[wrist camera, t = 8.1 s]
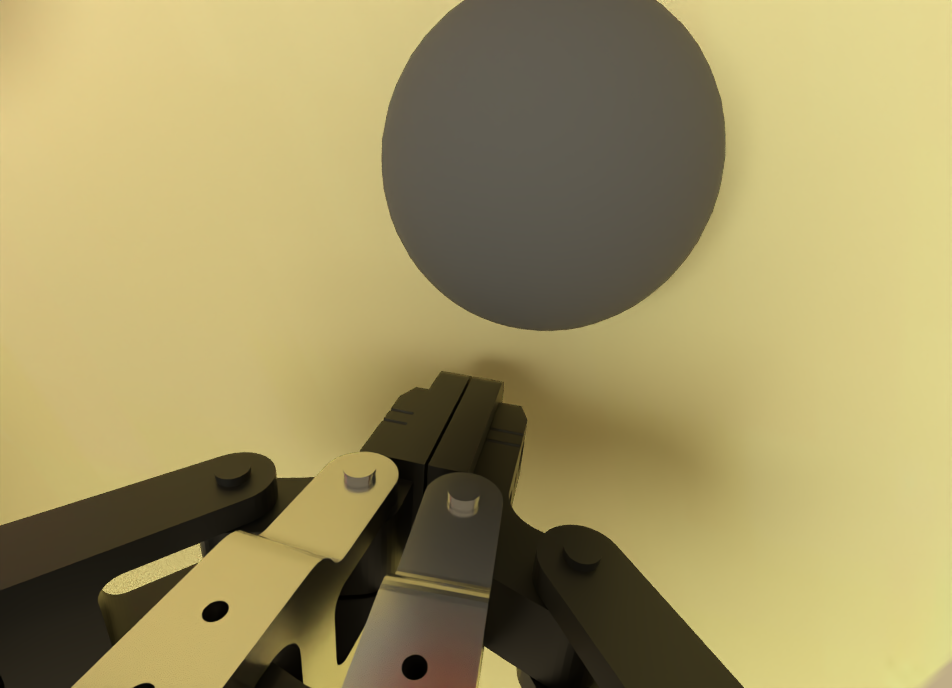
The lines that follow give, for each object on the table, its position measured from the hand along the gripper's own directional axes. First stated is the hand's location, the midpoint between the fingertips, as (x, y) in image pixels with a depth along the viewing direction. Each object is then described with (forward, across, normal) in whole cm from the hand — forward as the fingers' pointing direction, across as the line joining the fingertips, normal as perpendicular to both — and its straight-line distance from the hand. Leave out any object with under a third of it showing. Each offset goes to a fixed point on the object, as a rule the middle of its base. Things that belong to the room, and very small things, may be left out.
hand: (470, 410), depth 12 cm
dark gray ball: (-1, -1, -6) cm, 6 cm away
